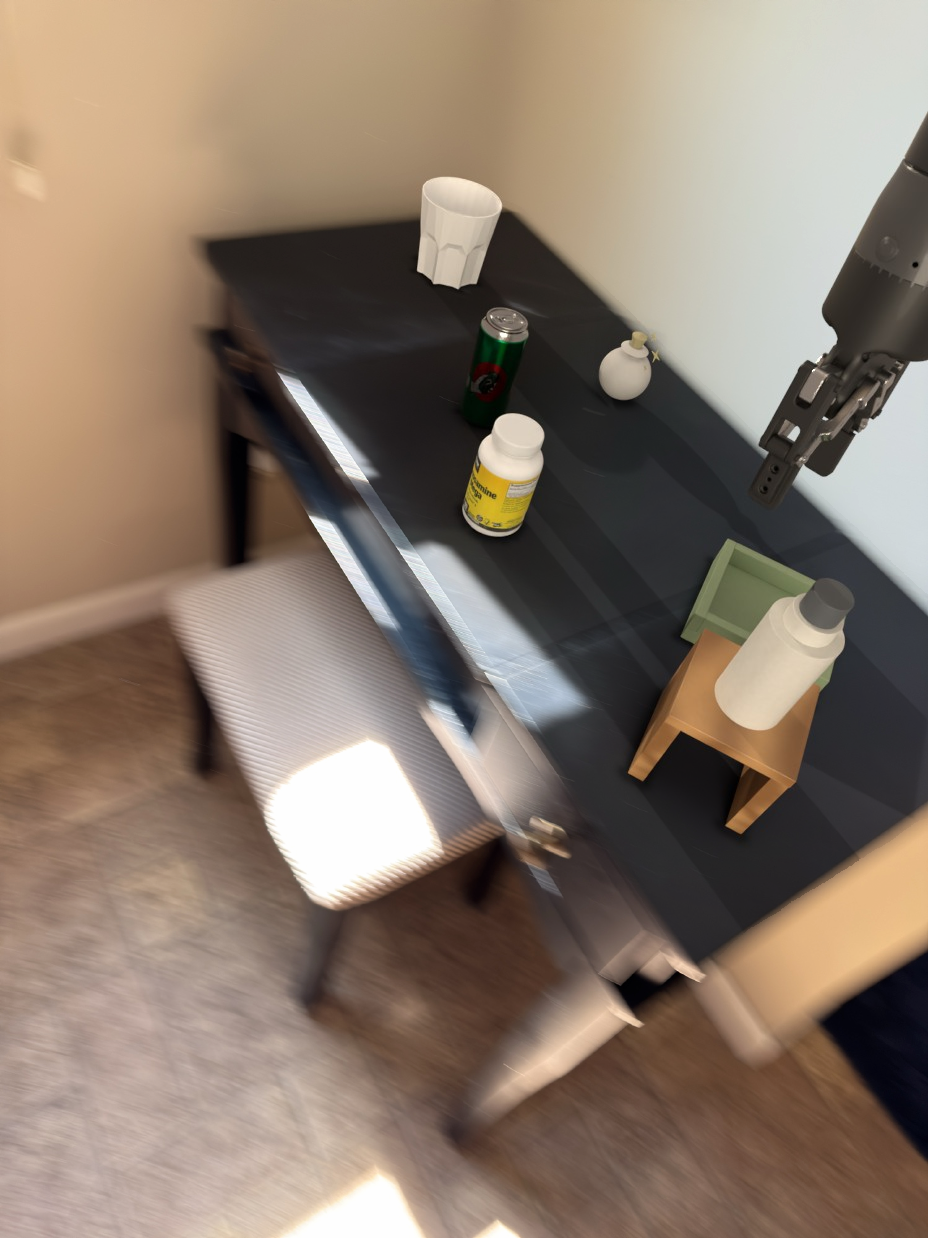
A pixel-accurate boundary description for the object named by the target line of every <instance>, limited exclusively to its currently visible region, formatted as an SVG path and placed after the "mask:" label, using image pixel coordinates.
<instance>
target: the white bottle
mask: <svg viewBox="0 0 928 1238" xmlns="http://www.w3.org/2000/svg"><path fill="white" fill-rule="evenodd" d="M815 581H816V582H815V583H814V584H813V586H812V587H811V588H810V589H809V591H808V592H807V593H803V594H800V595H798V596H797V597H786V598H782V599H780V600H778V601H776V602H775V603H774V604H773V605H772V607H771V608H770V609H769V611H768V612H767V613H766V615H765V616H764V617H763V619H762V620H761V621H760V623H759V624H758V625H757V627H756V628H755V630H754V631H753V632H752V634H751V635H750V636H749V638H748V639H747V640H746V642H745V643H744V644H743V646H742V647H741V648H740V650H739V651H738V652H737V654H736V655H735V657H734V658H733V659H732V661H731V662H730V663H729V665H728V666H727V667H726V669H725V670H724V671H723V673H722V674H721V675H720V677H719V678H718V679H717V681H716V684H715V689H714V691H715V698H716V701H717V703H718V705H719V707H720V708H721V710H722V711H723V712H724V713H725V714H726V715H727V716H728V717H729V718H730V719H731V720H732V721H734V722H735V723H737V724H739V725H741V726H743V727H745V728H748V729H752V730H767V729H770V728H773V727H774V726H776V725H777V724H778V723H779V721H780V720H781V719H782V718H783V717H784V716H785V715H786V714H787V712H788V711H789V710H790V709H791V708H792V707H793V706H794V705H795V704H796V702H797V701H798V700H799V699H800V698H801V697H802V696H803V695H804V693H805V692H806V691H807V690H808V689H809V688H810V687H811V686H812V684H813V683H814V682H815V681H816V680H817V679H818V678H819V677H820V676H821V674H822V673H823V672H824V671H825V670H826V669H827V668H828V667H829V665H830V664H831V663H832V662H833V661H834V660H835V661H836V659H837V658H838V657H839V655H841V653H842V652H843V651H844V648H845V645H846V644H845V643H846V642H845V641H846V638H845V634H844V631H843V630H842V629H844V626H845V622H844V619H843V618H844V617H845V616H846V617H847V615H848V613H850V611H851V610H852V609H853V608H854V607H855V603H856V602H855V601H856V600H855V597H854V595H853V592H852V591H851V590H850V588H848V587H847V586H846V585H845V584H843V582H840V581H838V580H836V579H833V578H830V577H822V578H818V579H817V580H815ZM835 661H834V662H835Z"/></svg>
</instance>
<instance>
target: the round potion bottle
mask: <svg viewBox="0 0 928 1238" xmlns="http://www.w3.org/2000/svg"><path fill="white" fill-rule="evenodd" d="M650 336H651V339H650V340H651V341H650V342H651V343H652V342H653V340H655V341H657V338H656V337H655V336H656V332H654V333H653V334H652V333H651V332H650ZM648 339H649V337H648V335H646V334H645V333H644V332H641V331H633V332H632V335H631V340H624V341H622V343H620V344H621V345H620V347H617V348H614V349H613V350H611V351H610V352H609V353H607V354H606V356H604V358H603V359H602V361H601V363H600V366H599V369H598V380H599V383H600V386H601V388H602V390H603V391H604V392H605V393H606V394H607V395H608V396H609V397H610V398H613V399H615V400H620V401H628V400H633V399H635V398H637V397H638V396H640V395H641V394H642V393H643V392H644V391H645V390H646V389H647V388H648V386H649V384H650V381H651V378H652V366H651V363H650V360H649V358H648V356H649V353H650V352H649V350H648V347H646V346H645V345H644V344H645V343H646V342H647V341H648ZM651 352H652V354H653V360H652V363H654V362H655V360H658V361H660V358H659V356H658V354H659V348H658V349H657V350H656V351H655V352H654V351H653V350H651Z"/></svg>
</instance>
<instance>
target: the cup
mask: <svg viewBox="0 0 928 1238" xmlns="http://www.w3.org/2000/svg"><path fill="white" fill-rule="evenodd" d="M420 207H421V208H420V238H419V249H418V257H417V258H418V259H417V268H416V271H417V272H418V273H420V274H423V275H424V276H426V277H427V279H429V280H431V282H432V284H433V285H442V286H443V285H444V286H447V287H452V288H454V289H457V290H459V289H460V288H461V287H465V286H467V285H477V283H478V280H479V278H480V273H481V270H482V267H483V263H484V261H485V257H486V254H487V251H488V248H489V245H490V242H491V240H492V237H493V235H494V232H495V229H496V226H497V224H498V221H499V218H500V216H501V212H502V209H503V203H502V200H501V198H500V197H499V196H498V195H497V194H496V193H495V192H494V191H492V189H490V188H489V187H487V186H485V185H483V184H480V183H478V182H476V181H473V180H470V179H465V178H461V177H456V176H437V177H433V178H430V179H428V180H427V181H425V182H424V184H423V185H422V189H421V206H420Z"/></svg>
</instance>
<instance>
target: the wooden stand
mask: <svg viewBox="0 0 928 1238" xmlns="http://www.w3.org/2000/svg"><path fill="white" fill-rule="evenodd" d="M740 648H741V646H739V645H737V644H735V643H733V642H731V641H729V640H727V639H725V638H724V637H722V636H720V635H718V634H716V633H714V632H712V631H710V630H708V629H706V628H705V629H704V630H703V632H702V633H701V635H700V637H699V638H698V640H697V641H696V643H695V644H693V646H692V647H691V649H690V650H689V651H688V653H687V654H686V656H685V658H684V659H683V660H682V662H681V663H680V665H679V666H678V668H677V669H676V671H675V673H674V674H673V675H672V677H671V679H670V680H669V681H668V683H667V685H665V687H664V689H663V690H662V692H661V695H660V696H659V699H658V701H657V704H656V706H655V708H654V711H653V713H652V714H651V715H652V716H651V717H650V720H649V722H648V725H647V727H646V729H645V731H644V734H643V736H642V738H641V741H640V743H639V745H638V748H637V750H636V752H635V755H634V757H633V760H632V762H631V764H630V766H629V769H628V770H627V774H628V775H630V776H632V777H634V778H636V779H638V780H640V781H641V782H644V781H645V780H646V778H647V777H648V776H649V774H650V773H651V771H652V770H653V769H654V767H655V766H656V765H657V763H658V762H659V761H660V760H661V758H662V757H663V755H664V754H665V753H666V751H667V750H668V748H670V746H671V745H672V744H673V742H674V741H675V740H676V738H677V736H678V735H679V734H680V733H681V732H682V733H684V734H686V735H688V736H690V737H692V738H694V739H695V740H697V741H700V742H701V743H703V744H705V745H707V746H709V747H711V748H713V749H715V750H717V751H719V752H720V753H722V754H724V755H726V756H728V757H730V758H731V759H734V760H735V761H737V762H739V763H741V764H743V768H742V770H741V775H740V778H739V781H738V783H737V787H736V790H735V793H734V797H733V800H732V803H731V806H730V809H729V812H728V816H727V818H726V822H725V824H724V825H725V827H726V828H727V829H728V828H729V829H730V830H732V831H734V832H735V833H737V834H740V835H743V833H744V832H745V831H746V830H747V829H748V828H749V827H750V826H752V825H753V824H754V822H755V821H756V820H758V818H759V817H760V816H762V814H764V812H765V811H766V810H768V809H769V807H771V806H772V805H773V804H774V802H776V801H777V800H778V799H779V798H780V797H781V796H782V795H783V794H784V793H785V792H786V791H787V790H788V789H790V788H791V787H792V786H793V785H794V784H796V783H797V780H798V776H799V773H800V769H801V764H802V761H803V757H804V753H805V749H806V745H807V742H808V739H809V735H810V730H811V726H812V722H813V719H814V716H815V711H816V707H817V704H818V699H819V696H820V693H821V691H820V688H821V687H820V686H818V685H816V684H814V683H813V684H812V686H811V687H810V688H809V689H808V690H807V691H806V692H805V693H804V695H803V696H802V697H801V698H800V699H799V700H798V701H797V702H796V704H795V705H794V706H793V707H792V708H791V709H790V710H789V711H788V712H787V714H786V715H785V716H784V717H783V718H782V719H781V720H780V721H779V723H778V724H777V725H776V726H774V727H773V728H770V729H767V730H752V729H748V728H745V727H743V726H741V725H739V724H737V723H735V722H734V721H732V720H731V719H730V718H729V717H728V716H727V715H726V714H725V713H724V712H723V711H722V710H721V708H720V707H719V705H718V703H717V701H716V698H715V691H714V689H715V684H716V681H717V679H718V678H719V677H720V675H721V674H722V673H723V671H724V670H725V669H726V667H727V666H728V665H729V663H730V662H731V661H732V659H733V658H734V657H735V655H736V654H737V652H738V651H739V650H740Z"/></svg>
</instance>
